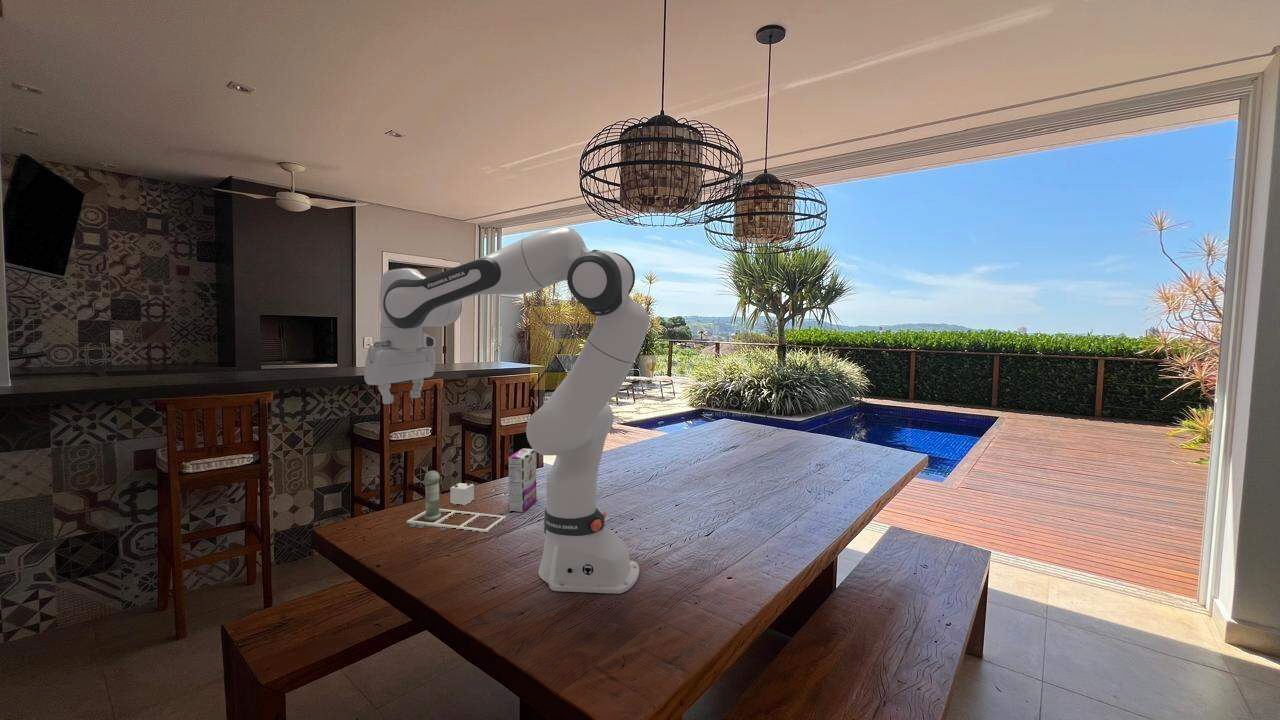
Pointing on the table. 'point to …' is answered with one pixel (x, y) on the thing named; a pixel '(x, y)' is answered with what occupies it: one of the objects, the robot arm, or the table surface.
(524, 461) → the candy bar box
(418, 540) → the table surface
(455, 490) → the die
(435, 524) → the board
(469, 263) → the robot arm
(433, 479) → the pawn
